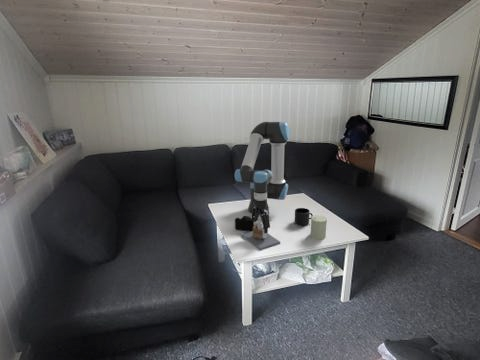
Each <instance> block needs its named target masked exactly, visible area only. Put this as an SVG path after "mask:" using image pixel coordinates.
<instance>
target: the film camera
mask: <svg viewBox="0 0 480 360" xmlns="http://www.w3.org/2000/svg"><path fill="white" fill-rule="evenodd" d="M253 226H254V222H253V219H251V217H250V216H247V215H242V217H236V218H235V219H234V229H235V230H237V231H243V232H251V231H253Z"/></svg>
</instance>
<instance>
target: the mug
mask: <svg viewBox="0 0 480 360" xmlns="http://www.w3.org/2000/svg"><path fill="white" fill-rule="evenodd" d="M310 215H311V217H312V216H314V214H313V213H311V212H310V209H308V208H305V207H297V208H296V209H294V224H295V225H297V226H300V227H306V226H309V224H310V220H311V217H310Z"/></svg>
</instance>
